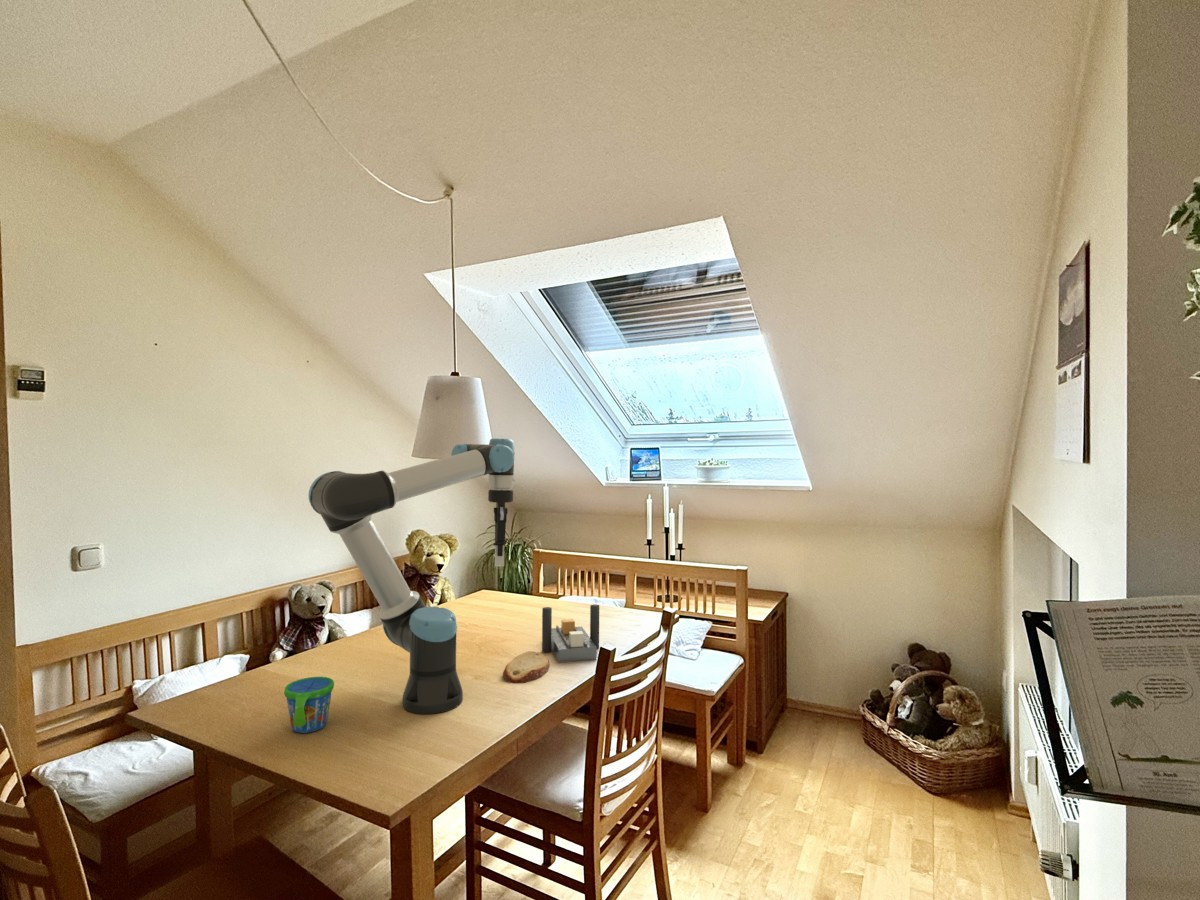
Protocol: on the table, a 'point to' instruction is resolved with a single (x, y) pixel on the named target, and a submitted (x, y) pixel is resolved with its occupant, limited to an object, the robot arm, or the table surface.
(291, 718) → the snack cup
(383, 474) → the robot arm
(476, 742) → the table surface
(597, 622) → the post right
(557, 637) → the grey tray
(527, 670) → the bread slice
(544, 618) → the post left
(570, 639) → the toggle
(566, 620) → the toggle
